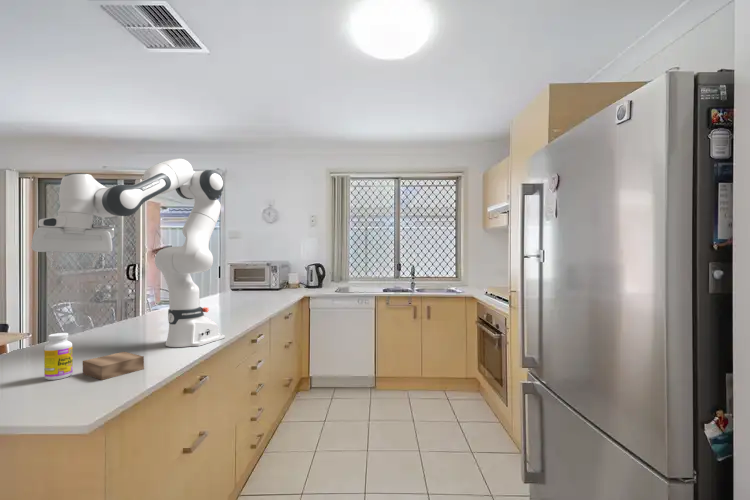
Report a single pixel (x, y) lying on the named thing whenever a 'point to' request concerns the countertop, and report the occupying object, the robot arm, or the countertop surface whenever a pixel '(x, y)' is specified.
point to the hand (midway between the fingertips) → (72, 267)
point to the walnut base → (113, 365)
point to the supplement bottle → (58, 357)
